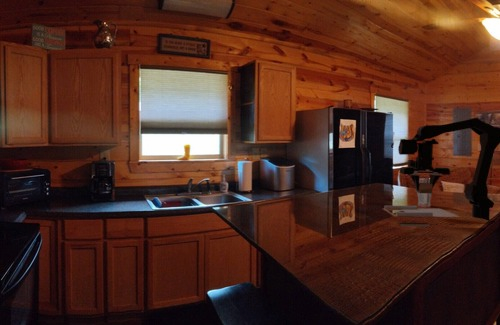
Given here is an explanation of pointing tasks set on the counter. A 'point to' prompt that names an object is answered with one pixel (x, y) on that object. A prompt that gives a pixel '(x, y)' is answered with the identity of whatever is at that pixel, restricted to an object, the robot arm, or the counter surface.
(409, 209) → the board
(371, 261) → the counter surface
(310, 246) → the counter surface
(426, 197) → the beer glass
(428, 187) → the walnut block
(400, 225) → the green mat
